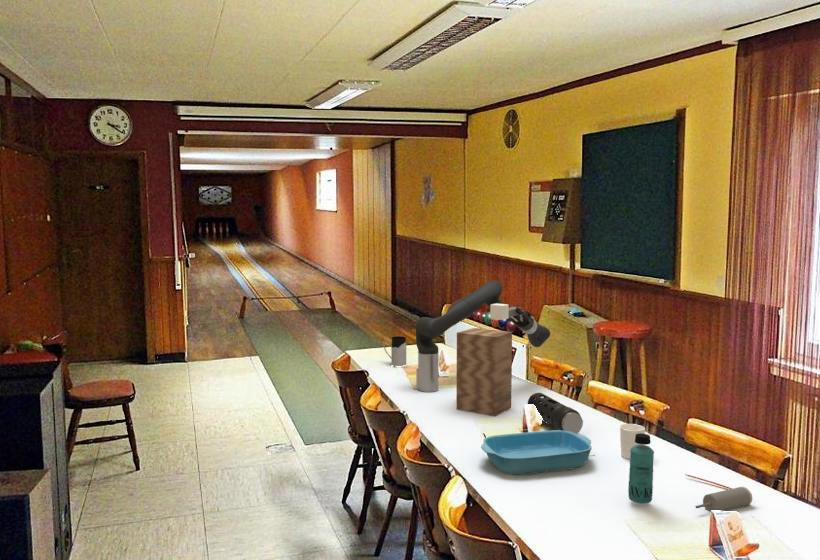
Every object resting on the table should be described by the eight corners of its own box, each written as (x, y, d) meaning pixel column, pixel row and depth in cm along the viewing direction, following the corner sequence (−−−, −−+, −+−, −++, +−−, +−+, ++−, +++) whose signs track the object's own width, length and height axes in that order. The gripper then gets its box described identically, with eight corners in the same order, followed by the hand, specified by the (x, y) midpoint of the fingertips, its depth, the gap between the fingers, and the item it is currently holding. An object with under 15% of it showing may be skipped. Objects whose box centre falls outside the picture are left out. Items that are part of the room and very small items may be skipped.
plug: (490, 318, 298) (490, 304, 298) (510, 313, 314) (510, 299, 313) (503, 320, 295) (503, 305, 294) (523, 314, 311) (523, 300, 310)
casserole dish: (495, 481, 215) (495, 458, 214) (471, 456, 236) (471, 435, 235) (604, 470, 223) (605, 448, 223) (572, 447, 245) (572, 427, 244)
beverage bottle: (624, 500, 200) (626, 431, 198) (646, 499, 200) (649, 430, 198) (633, 509, 193) (635, 438, 191) (656, 508, 194) (659, 438, 192)
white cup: (644, 453, 238) (645, 425, 237) (644, 461, 230) (644, 432, 229) (619, 451, 240) (620, 422, 239) (618, 459, 233) (619, 429, 232)
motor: (763, 504, 197) (761, 486, 197) (704, 518, 188) (702, 499, 188) (698, 488, 218) (696, 471, 218) (642, 500, 209) (640, 483, 209)
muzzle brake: (548, 416, 281) (548, 390, 280) (584, 438, 255) (585, 410, 254) (526, 418, 279) (526, 392, 278) (560, 440, 252) (561, 412, 251)
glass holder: (401, 368, 367) (401, 339, 365) (378, 365, 374) (378, 337, 373) (410, 365, 374) (410, 337, 372) (388, 362, 382) (388, 334, 380)
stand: (456, 409, 291) (456, 332, 288) (473, 401, 303) (473, 327, 299) (495, 416, 281) (496, 337, 278) (511, 408, 292) (512, 331, 289)
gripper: (514, 314, 326) (499, 299, 313) (542, 317, 318) (528, 301, 305) (510, 329, 324) (495, 315, 311) (539, 332, 316) (524, 317, 303)
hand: (512, 308), depth 308 cm, fingers closed on plug, 4 cm apart
